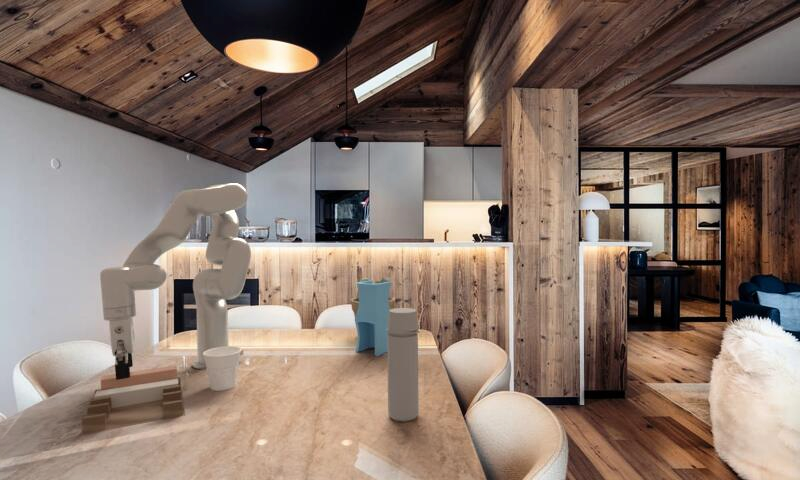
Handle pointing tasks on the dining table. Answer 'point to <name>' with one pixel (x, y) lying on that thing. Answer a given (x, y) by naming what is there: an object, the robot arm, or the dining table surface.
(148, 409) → the rack
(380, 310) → the blue arched stand
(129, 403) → the grey strip
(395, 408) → the water bottle
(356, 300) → the potted plant
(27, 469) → the dining table surface
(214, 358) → the cup
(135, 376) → the terracotta strip
